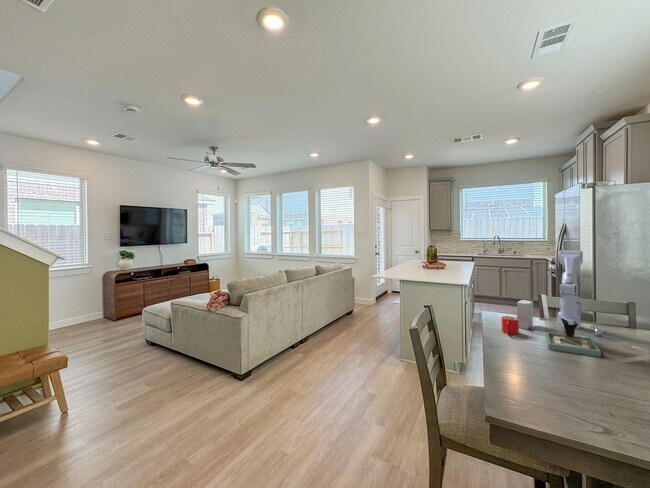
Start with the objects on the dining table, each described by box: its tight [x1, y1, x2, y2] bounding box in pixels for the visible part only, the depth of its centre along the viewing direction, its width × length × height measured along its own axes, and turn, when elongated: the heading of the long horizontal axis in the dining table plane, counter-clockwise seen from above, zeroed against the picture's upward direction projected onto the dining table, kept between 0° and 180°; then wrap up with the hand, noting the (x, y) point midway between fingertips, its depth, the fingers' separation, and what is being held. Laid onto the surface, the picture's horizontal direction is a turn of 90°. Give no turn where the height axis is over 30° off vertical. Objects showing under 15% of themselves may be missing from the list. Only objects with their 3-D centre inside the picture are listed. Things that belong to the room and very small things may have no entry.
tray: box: [545, 331, 602, 358], centre depth 137 cm, size 18×18×2 cm
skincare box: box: [516, 299, 534, 330], centre depth 165 cm, size 8×6×15 cm
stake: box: [589, 325, 607, 337], centre depth 144 cm, size 6×2×4 cm, turn 11°
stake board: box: [575, 329, 631, 344], centre depth 144 cm, size 15×15×2 cm
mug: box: [501, 315, 520, 336], centre depth 156 cm, size 8×12×8 cm, turn 140°
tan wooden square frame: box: [554, 328, 591, 349], centre depth 138 cm, size 12×12×5 cm
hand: (569, 335), depth 142 cm, fingers open, 4 cm apart
